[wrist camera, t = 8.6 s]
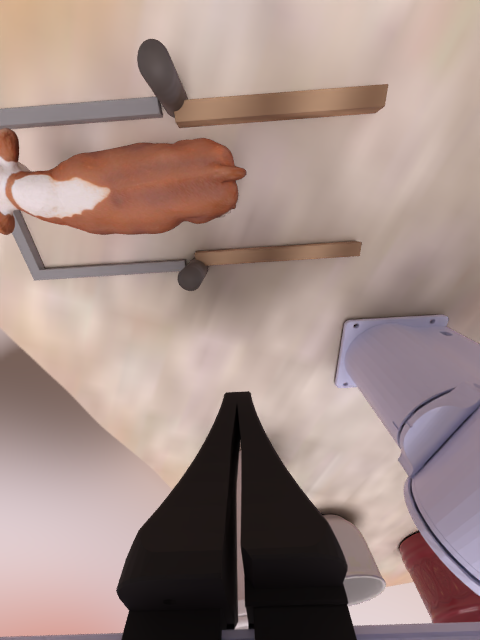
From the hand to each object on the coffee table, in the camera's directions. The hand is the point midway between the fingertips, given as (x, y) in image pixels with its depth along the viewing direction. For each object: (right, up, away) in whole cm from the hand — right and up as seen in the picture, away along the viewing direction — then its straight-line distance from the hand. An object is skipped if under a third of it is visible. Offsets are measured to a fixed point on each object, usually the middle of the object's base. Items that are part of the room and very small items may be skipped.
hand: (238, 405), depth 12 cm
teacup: (+14, -31, +26) cm, 43 cm away
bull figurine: (-6, +14, +5) cm, 16 cm away
